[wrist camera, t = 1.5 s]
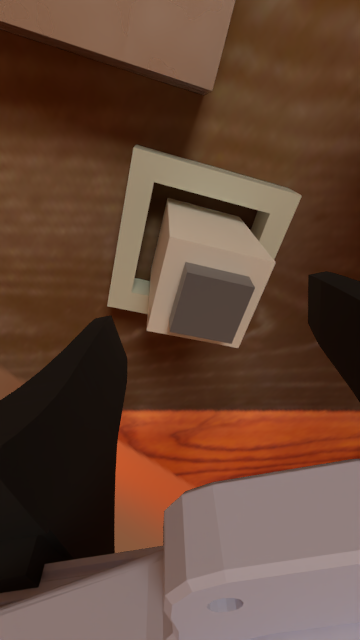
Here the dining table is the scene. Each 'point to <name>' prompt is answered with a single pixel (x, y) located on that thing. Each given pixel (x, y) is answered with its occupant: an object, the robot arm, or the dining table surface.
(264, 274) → the plug
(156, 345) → the dining table surface
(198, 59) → the port block
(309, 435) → the dining table surface
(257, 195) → the beige square frame
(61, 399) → the robot arm
